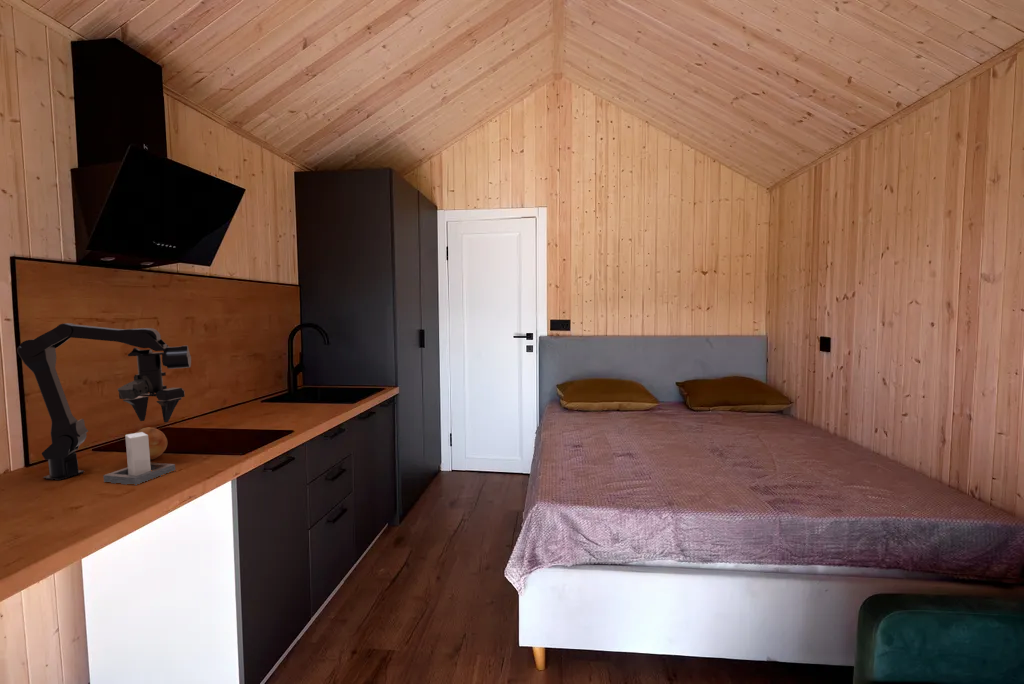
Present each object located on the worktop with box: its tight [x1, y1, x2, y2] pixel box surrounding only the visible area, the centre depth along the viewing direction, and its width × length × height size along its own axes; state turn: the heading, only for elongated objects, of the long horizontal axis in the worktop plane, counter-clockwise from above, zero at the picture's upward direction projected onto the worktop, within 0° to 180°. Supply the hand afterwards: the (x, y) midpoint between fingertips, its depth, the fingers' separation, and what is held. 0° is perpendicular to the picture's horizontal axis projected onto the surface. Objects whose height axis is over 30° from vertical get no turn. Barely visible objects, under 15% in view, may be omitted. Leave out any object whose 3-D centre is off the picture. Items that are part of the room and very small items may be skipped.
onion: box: [135, 427, 168, 460], centre depth 153 cm, size 10×10×10 cm
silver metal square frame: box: [102, 461, 176, 486], centre depth 137 cm, size 11×11×2 cm
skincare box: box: [124, 432, 151, 476], centre depth 137 cm, size 6×4×12 cm
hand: (154, 421), depth 148 cm, fingers open, 9 cm apart
